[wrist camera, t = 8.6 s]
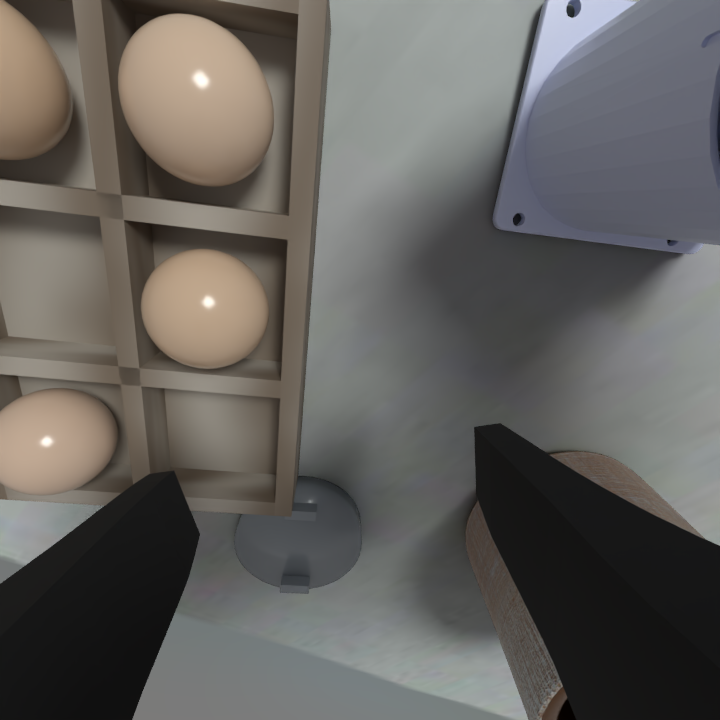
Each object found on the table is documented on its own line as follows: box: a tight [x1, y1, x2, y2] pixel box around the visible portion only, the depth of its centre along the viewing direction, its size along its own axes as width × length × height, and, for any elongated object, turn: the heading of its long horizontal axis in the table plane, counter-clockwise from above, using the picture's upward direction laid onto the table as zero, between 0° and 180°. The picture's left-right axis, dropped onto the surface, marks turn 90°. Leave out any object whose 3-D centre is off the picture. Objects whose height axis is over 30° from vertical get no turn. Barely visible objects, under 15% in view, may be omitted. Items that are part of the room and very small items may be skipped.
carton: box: [0, 0, 331, 517], centre depth 16 cm, size 14×20×3 cm
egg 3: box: [118, 13, 274, 187], centre depth 12 cm, size 4×4×4 cm
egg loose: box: [141, 249, 269, 369], centre depth 14 cm, size 4×4×4 cm
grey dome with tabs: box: [234, 476, 362, 594], centre depth 22 cm, size 7×7×2 cm
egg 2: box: [0, 388, 118, 496], centre depth 16 cm, size 4×4×4 cm
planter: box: [465, 451, 706, 720], centre depth 19 cm, size 11×11×10 cm
